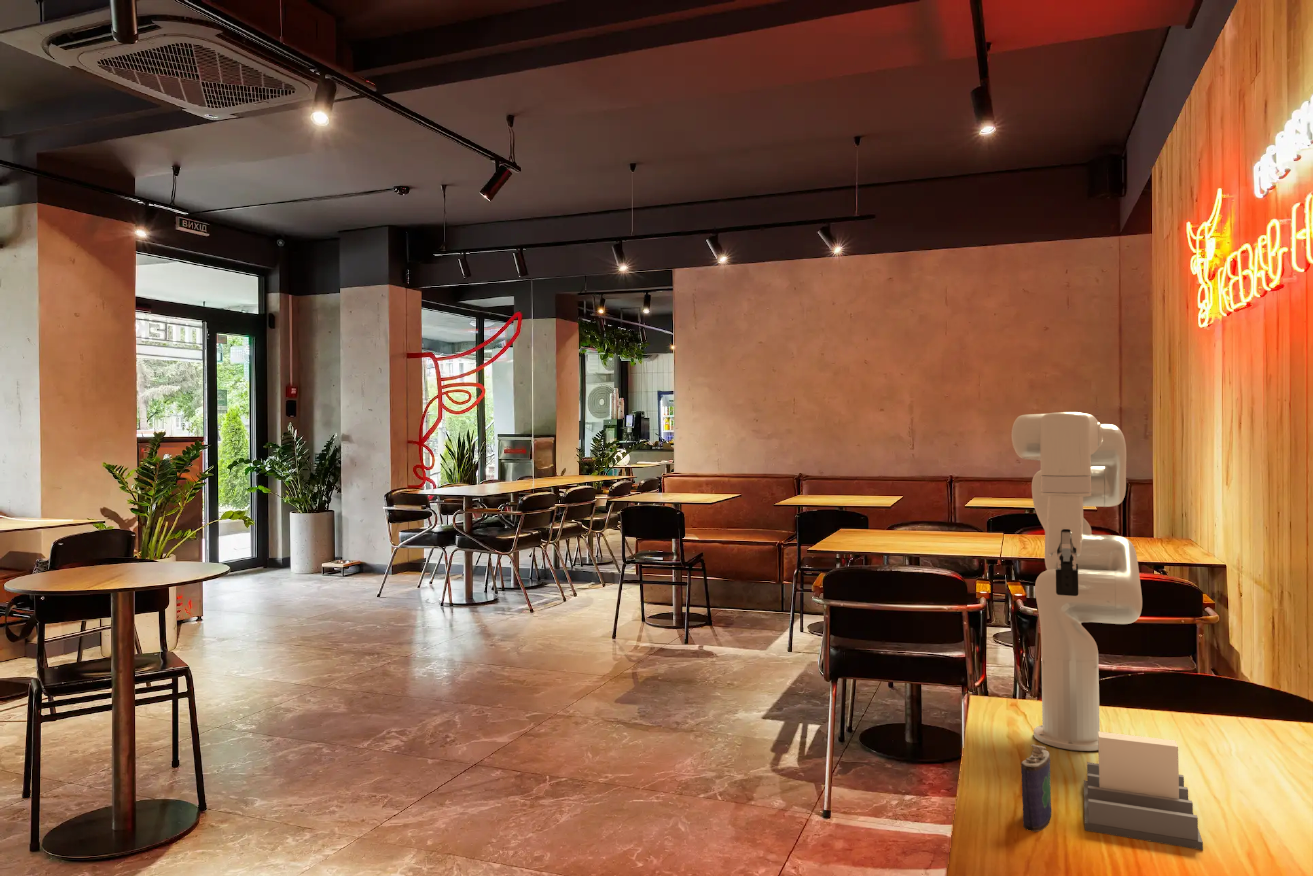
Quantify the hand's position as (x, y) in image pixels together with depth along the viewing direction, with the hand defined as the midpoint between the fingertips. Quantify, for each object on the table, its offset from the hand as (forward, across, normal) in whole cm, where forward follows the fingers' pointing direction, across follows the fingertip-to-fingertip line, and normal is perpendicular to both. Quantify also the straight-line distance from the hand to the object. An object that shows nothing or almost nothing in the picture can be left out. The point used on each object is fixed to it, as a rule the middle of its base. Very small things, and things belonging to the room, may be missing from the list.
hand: (1067, 590), depth 141 cm
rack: (+30, +13, +9) cm, 34 cm away
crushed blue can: (+30, +21, -4) cm, 37 cm away
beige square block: (+29, +13, +9) cm, 33 cm away
